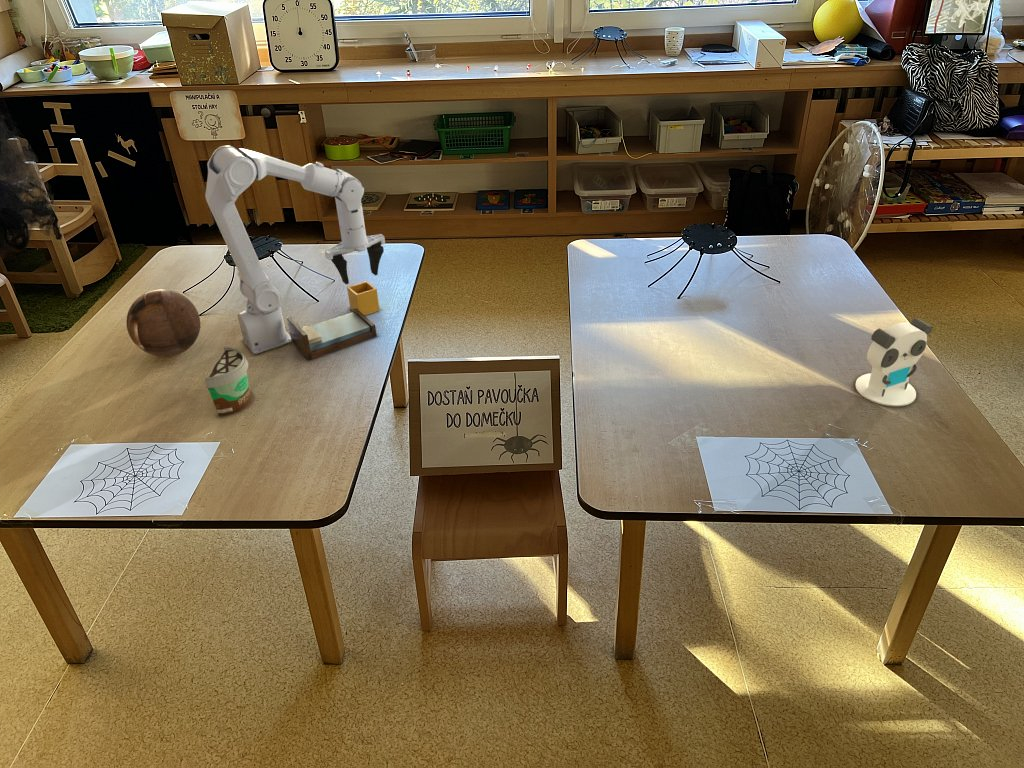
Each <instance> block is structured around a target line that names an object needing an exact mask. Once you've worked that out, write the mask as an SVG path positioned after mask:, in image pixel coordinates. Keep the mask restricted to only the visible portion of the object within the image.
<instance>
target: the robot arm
mask: <svg viewBox="0 0 1024 768" xmlns="http://www.w3.org/2000/svg"><path fill="white" fill-rule="evenodd" d="M239 150H240V151H239ZM206 165H207V180H206V185H205V187H206V188H205V193H204V194H205V195H204V197H205V201H206V203H207V205H208V207H209V209H210V212H211V214H212V216H213V219H214V221H215V223H216V225H217V227H218V229H219V232H220V234H221V235H222V239H223V240H224V242H225V244H226V247H227V249H228V251H229V254H230V256H231V258H232V261H233V263H234V265H235V267H236V269H237V271H238V272H237V277H238V278H239V281H240V282H239V290H240V293H241V294H242V295H243V296H244V298H246V300H247V301H246V309H244V310H243V311H241V312H239V313H238V314H237V320H238V325H239V328H240V331H241V335H242V341H243V342H244V344H245V345H246V347H248V349H249V350H250V351H251V353H253V355H257V354H260V353H263V352H266V351H270V350H272V349H275V348H278V347H282V346H285V345H287V344H290V343H292V340H291V336H290V333H289V332H288V331H287V330H286V325H285V320H284V317H283V311H282V308H281V301H282V295H281V293H280V290H278V289H277V288H276V287H275V286H273V284H272V282H271V281H270V280H271V279H269V277H268V275H267V274H266V272H265V271H264V268H263V267H262V265H261V262H260V259H259V258H258V255H257V253H256V251H255V249H254V246H253V243H252V242H251V239H250V237H249V234H248V232H247V229H246V227H245V225H244V223H243V220H242V218H241V216H240V214H239V211H238V208H237V207H236V204H235V203H236V201H237V200H238V198H239V196H240V195H242V193H243V192H245V191H246V190H247V189H248V188H249V187H250V186H251V185H252V184H253V183H254V182H255V180H256V181H261V180H263V179H264V178H265V177H266V176H272V177H276V178H281V179H285V180H290V181H294V182H298V183H300V184H301V186H302V188H303V189H304V190H305V191H309V192H313V193H317V194H320V195H324V196H328V197H334V200H335V206H336V213H337V219H338V225H339V226H338V227H339V231H340V232H339V233H340V237H341V242H339V243H337V244H335V245H333V246H330V247H328V248H325V249H324V256H325V258H326V259H327V260H328V261H330V262H332V263H333V265H334V266H335V268H336V270H337V271H338V273H339V275H340V278H341V281H342V282H343V284H345V285H349V284H350V281H349V274H348V261H347V260H346V259H345V257H344V256H343V255H347V254H351V253H353V252H357V253H361V252H365V251H367V255H368V259H369V260H368V261H369V268H370V272H371V274H373V275H374V276H378V274H379V267H380V261H381V258H382V256H383V254H384V249H385V248H384V247H383V246H384V245H385V244H386V239H385V235H383V234H382V233H378V234H373V235H367V232H366V231H367V230H366V226H365V217H364V210H363V204H362V198H363V196H364V194H365V187H363V184H362V182H361V181H360V179H358V178H356V177H355V176H353V175H352V174H350V173H349V172H347V171H344V170H343V169H339V168H336V169H332V168H329V167H325V166H324V164H323V163H321V162H319V161H316V162H315V163H307V164H305V165H303V166H301V165H297V164H296V163H295V164H294V163H291V162H289V161H285V160H283V159H279V158H276V157H274V156H271V155H267V154H264V153H261V152H257V151H254V150H250V149H246V148H241V147H240V148H238V149H237V148H235V147H234V146H231V145H221V146H219V147H217V148H215V150H214V151H213V152H212V154H211V156H210V158H209V160H208V161H207V163H206ZM382 245H383V246H382Z"/></svg>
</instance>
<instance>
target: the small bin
mask: <svg viewBox="0 0 1024 768" xmlns="http://www.w3.org/2000/svg"><path fill="white" fill-rule="evenodd" d="M377 289H378V288H377V287H375V286H374V285H373V284H371V283H370V282H369V281H368V280H366V281H361V282H359V283H356V284H352V285H350V286H346V290H347V297H348V302H349V308H350V310H352V311H353V309H355V308H357V309H358V310H359V311H360V312H361V313H362V314H364V315H365V316H367V315H371V314H374V313H376V312H379V311H380V304H379V296H378V290H377Z"/></svg>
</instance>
